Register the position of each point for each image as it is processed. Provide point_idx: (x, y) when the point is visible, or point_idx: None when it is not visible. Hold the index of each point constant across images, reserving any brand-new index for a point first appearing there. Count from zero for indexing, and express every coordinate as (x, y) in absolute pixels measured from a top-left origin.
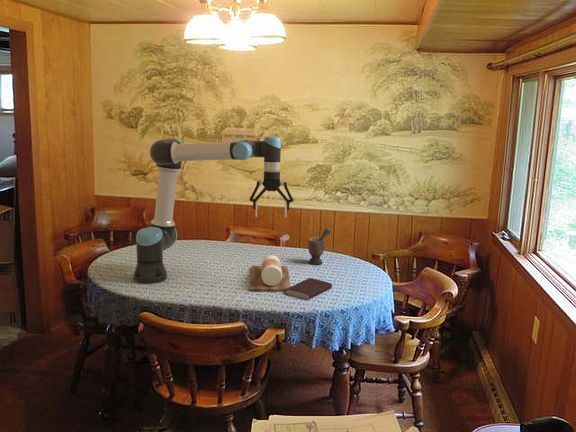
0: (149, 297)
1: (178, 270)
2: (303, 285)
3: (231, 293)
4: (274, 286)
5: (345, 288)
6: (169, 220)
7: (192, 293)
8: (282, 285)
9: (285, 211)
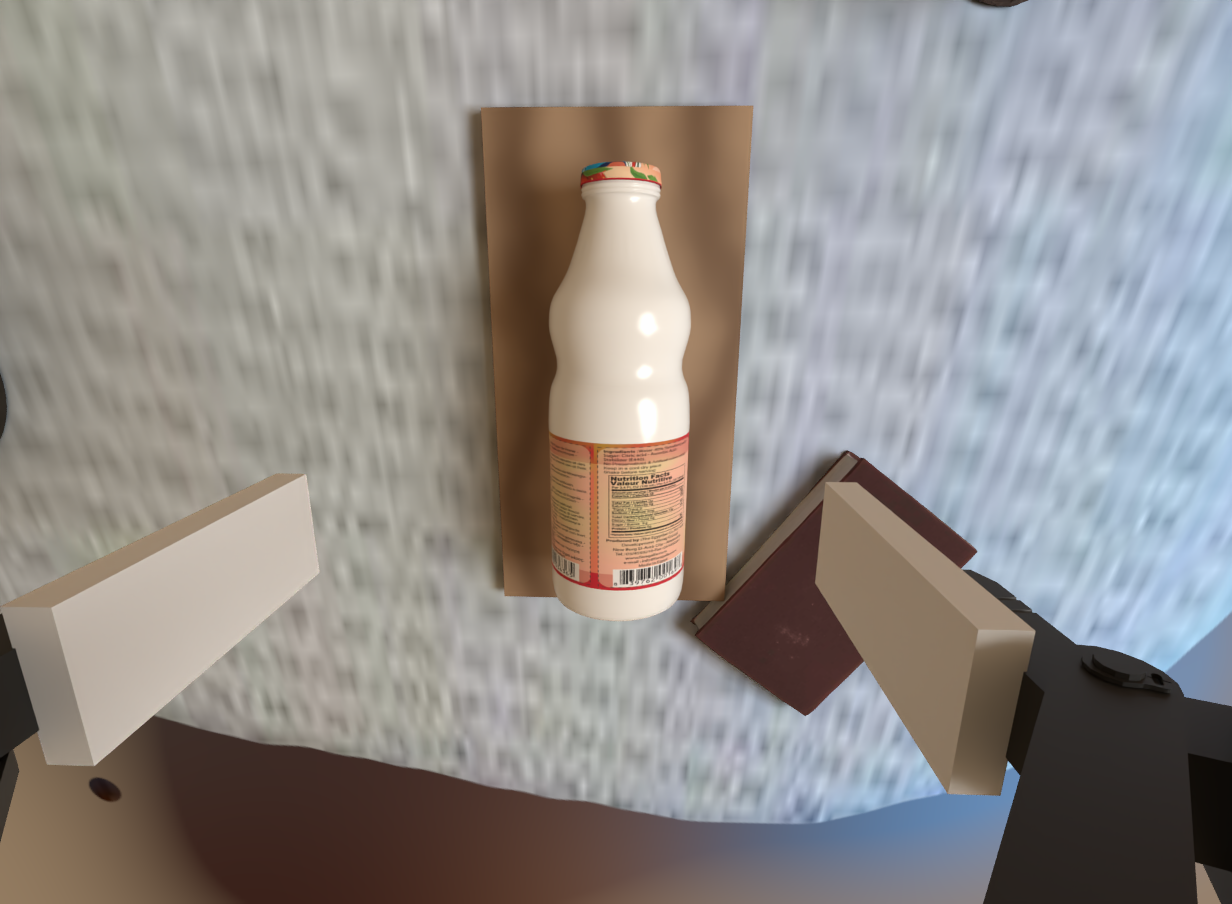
0: None
1: (3, 201)
2: (799, 596)
3: (416, 614)
4: None
5: (1043, 540)
6: None
7: None
8: None
9: (863, 648)
